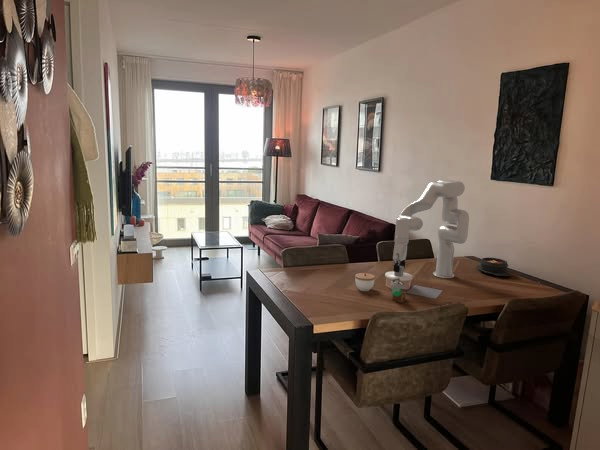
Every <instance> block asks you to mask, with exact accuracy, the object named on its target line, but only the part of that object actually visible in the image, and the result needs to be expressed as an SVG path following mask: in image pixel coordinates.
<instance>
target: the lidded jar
mask: <svg viewBox="0 0 600 450" xmlns="http://www.w3.org/2000/svg"><path fill="white" fill-rule="evenodd" d="M354 277H355V279H354V280H355V285H356V287H357V289H358V290H359V291H361V292H370V290H371V289H372V288H373V287H374V285H375V279H376V276H375V275H374V274H371V273H367V272H360V273H355V276H354Z"/></svg>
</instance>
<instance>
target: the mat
mask: <svg viewBox="0 0 600 450" xmlns="http://www.w3.org/2000/svg"><path fill="white" fill-rule="evenodd" d="M443 292H444V290H441V289H437V288H432V287H428V286H427V287H426V286H421V285H417V284H416V285H415V284H414V285H412V286H410V288H409V289H407V290H406V294H410V295H415V296H420V297H426V298H429V299H435V300H437V298H438V297H439V296H440V295H441V294H442V293H443Z"/></svg>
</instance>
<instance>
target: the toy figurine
mask: <svg viewBox="0 0 600 450" xmlns="http://www.w3.org/2000/svg"><path fill="white" fill-rule="evenodd" d="M391 286H392V289H391V300H392V302H395V303H399V304H405V302H406V297H407V296H406V294H407V293H406V292H407V290H408V289H407V285H404V283H403V282H401V281H400V278H396V279H393V280H392V282H391ZM406 289H407V290H406Z"/></svg>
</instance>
